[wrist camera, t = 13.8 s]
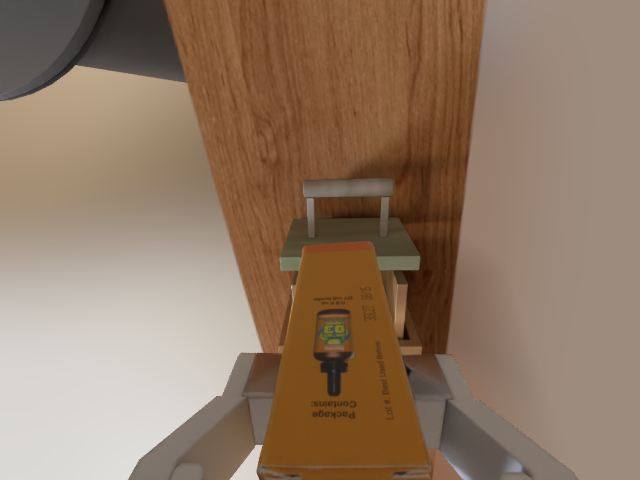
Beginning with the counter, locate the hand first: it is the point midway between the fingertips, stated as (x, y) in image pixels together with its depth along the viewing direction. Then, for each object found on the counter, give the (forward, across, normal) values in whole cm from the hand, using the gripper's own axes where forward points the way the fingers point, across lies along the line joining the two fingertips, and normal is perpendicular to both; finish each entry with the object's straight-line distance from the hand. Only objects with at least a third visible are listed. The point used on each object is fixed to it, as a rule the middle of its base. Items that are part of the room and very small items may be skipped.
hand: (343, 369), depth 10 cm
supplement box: (+6, 0, 0) cm, 6 cm away
